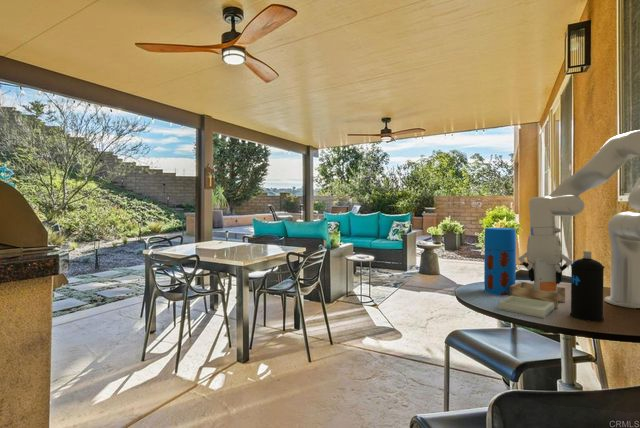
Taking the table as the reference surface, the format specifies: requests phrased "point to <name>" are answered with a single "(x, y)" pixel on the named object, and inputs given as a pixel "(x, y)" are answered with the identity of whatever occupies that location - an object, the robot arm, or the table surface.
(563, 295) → the bay
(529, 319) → the table surface
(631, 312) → the table surface
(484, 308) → the table surface
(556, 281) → the robot arm
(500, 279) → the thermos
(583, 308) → the aerosol can
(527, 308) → the tray
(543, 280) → the skincare box
